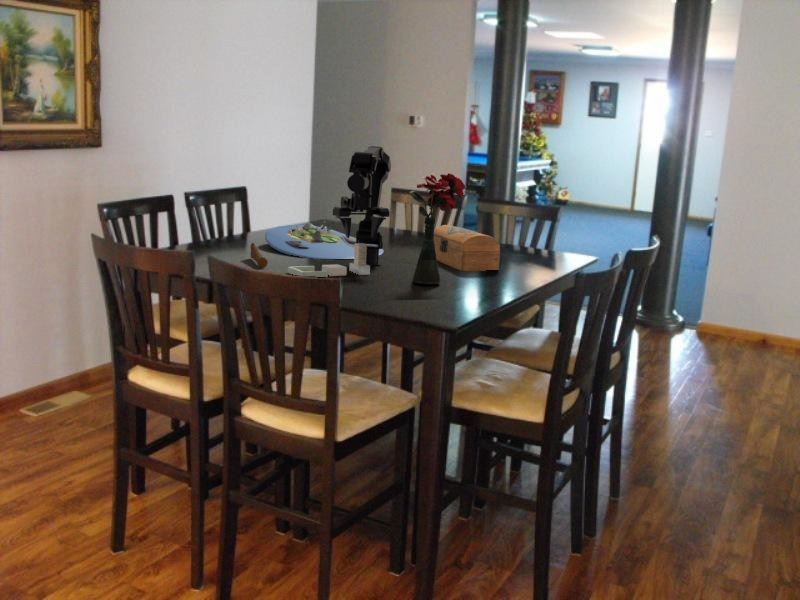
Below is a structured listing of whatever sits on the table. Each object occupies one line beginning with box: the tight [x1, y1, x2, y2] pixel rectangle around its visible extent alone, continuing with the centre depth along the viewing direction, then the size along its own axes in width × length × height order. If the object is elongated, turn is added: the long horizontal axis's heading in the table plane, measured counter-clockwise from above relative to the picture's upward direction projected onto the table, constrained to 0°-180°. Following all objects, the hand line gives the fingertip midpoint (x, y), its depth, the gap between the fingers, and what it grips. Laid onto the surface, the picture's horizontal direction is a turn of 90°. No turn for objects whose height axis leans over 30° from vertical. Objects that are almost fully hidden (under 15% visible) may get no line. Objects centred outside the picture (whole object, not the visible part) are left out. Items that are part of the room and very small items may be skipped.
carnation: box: [408, 173, 466, 286], centre depth 262 cm, size 16×18×35 cm
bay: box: [287, 265, 329, 278], centre depth 264 cm, size 9×11×2 cm
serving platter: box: [264, 220, 385, 260], centre depth 314 cm, size 45×43×12 cm
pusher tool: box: [348, 243, 371, 276], centre depth 273 cm, size 4×7×10 cm, turn 31°
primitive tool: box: [250, 242, 269, 269], centre depth 279 cm, size 19×6×4 cm
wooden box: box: [434, 224, 501, 272], centre depth 301 cm, size 30×16×14 cm, turn 22°
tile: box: [321, 263, 348, 277], centre depth 268 cm, size 6×6×3 cm
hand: (360, 237), depth 271 cm, fingers open, 9 cm apart
